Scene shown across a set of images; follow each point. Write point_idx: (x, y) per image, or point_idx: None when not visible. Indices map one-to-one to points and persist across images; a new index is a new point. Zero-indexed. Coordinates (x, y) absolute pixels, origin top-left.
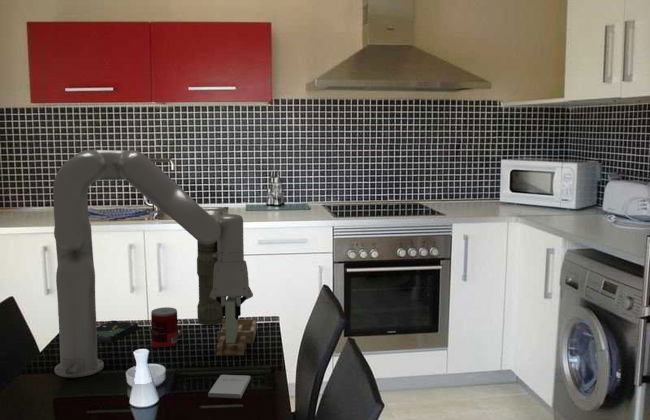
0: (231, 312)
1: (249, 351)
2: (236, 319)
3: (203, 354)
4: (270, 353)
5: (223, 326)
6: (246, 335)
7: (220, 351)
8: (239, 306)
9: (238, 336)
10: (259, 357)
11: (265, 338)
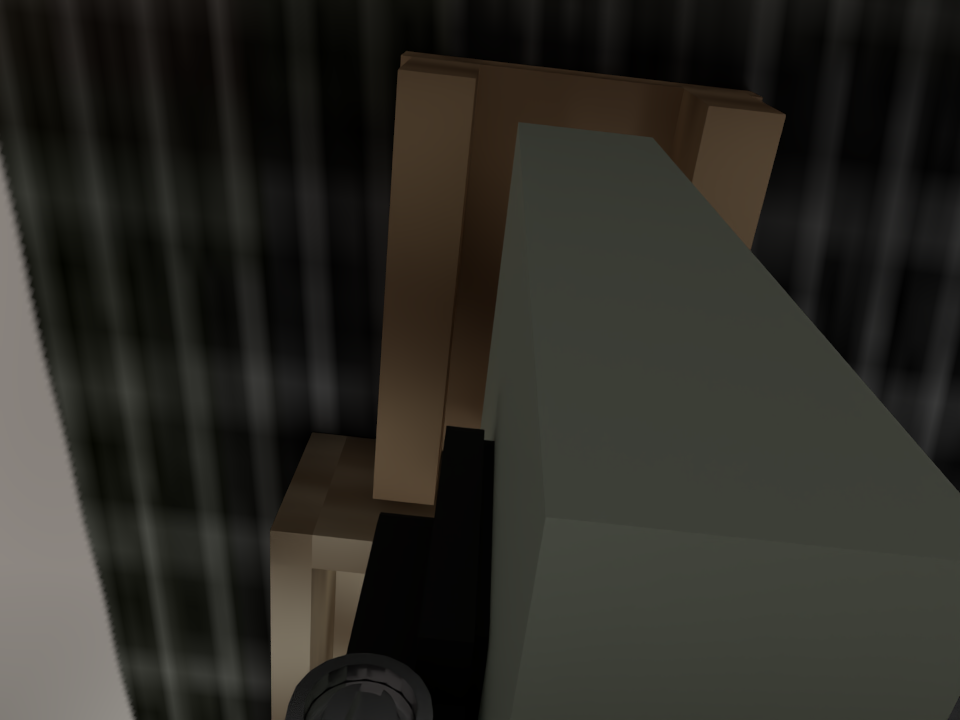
0: (620, 315)
1: (346, 288)
2: (470, 435)
3: (875, 255)
4: (97, 191)
5: None
6: (364, 513)
7: (712, 98)
8: (357, 676)
9: None
10: (212, 62)
11: (209, 624)
